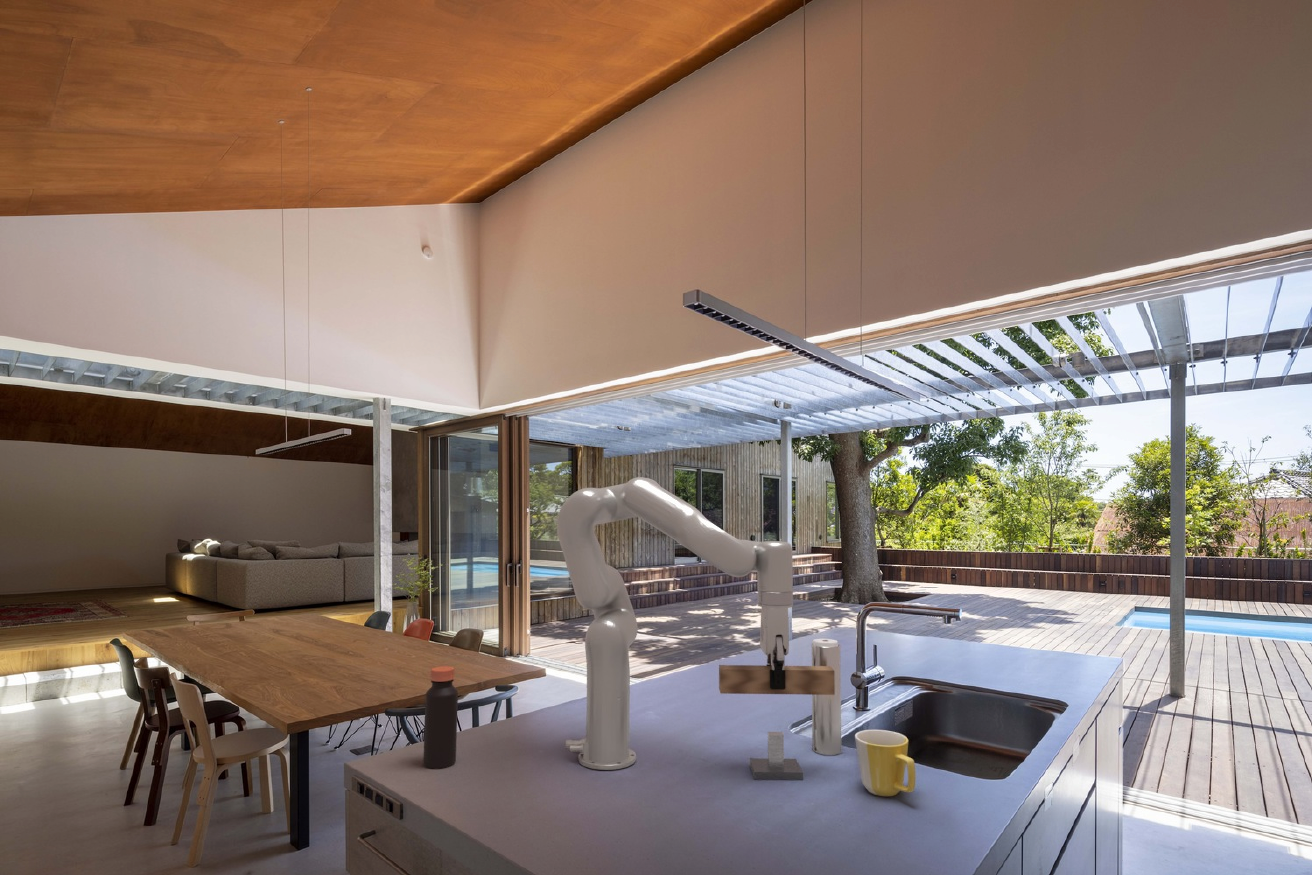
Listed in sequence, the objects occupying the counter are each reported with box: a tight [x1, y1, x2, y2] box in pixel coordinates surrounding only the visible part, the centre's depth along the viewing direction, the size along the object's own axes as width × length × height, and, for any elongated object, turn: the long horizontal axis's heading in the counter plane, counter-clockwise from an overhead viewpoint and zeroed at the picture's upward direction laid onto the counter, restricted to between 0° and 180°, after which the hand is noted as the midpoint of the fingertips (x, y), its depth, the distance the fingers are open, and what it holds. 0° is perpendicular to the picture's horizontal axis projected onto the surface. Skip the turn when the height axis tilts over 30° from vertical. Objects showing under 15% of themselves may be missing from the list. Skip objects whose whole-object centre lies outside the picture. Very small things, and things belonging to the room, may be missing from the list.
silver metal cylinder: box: [811, 638, 842, 756], centre depth 170 cm, size 6×6×25 cm
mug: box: [854, 729, 916, 797], centre depth 145 cm, size 14×10×10 cm
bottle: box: [422, 665, 459, 770], centre depth 160 cm, size 7×7×20 cm
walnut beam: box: [718, 664, 835, 696], centre depth 157 cm, size 24×4×5 cm, turn 90°
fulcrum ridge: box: [749, 731, 804, 781], centre depth 156 cm, size 10×8×8 cm
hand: (775, 685), depth 157 cm, fingers closed on walnut beam, 4 cm apart
